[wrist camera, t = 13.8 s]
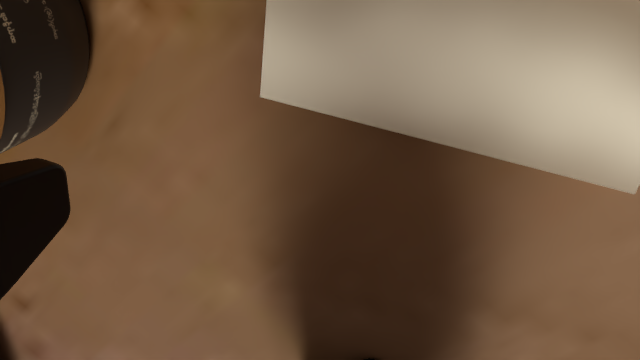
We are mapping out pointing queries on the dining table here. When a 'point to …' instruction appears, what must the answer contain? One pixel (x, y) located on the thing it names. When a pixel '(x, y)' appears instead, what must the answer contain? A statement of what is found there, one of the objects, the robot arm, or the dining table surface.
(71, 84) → the jar
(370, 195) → the dining table surface
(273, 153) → the dining table surface
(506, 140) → the birch board
